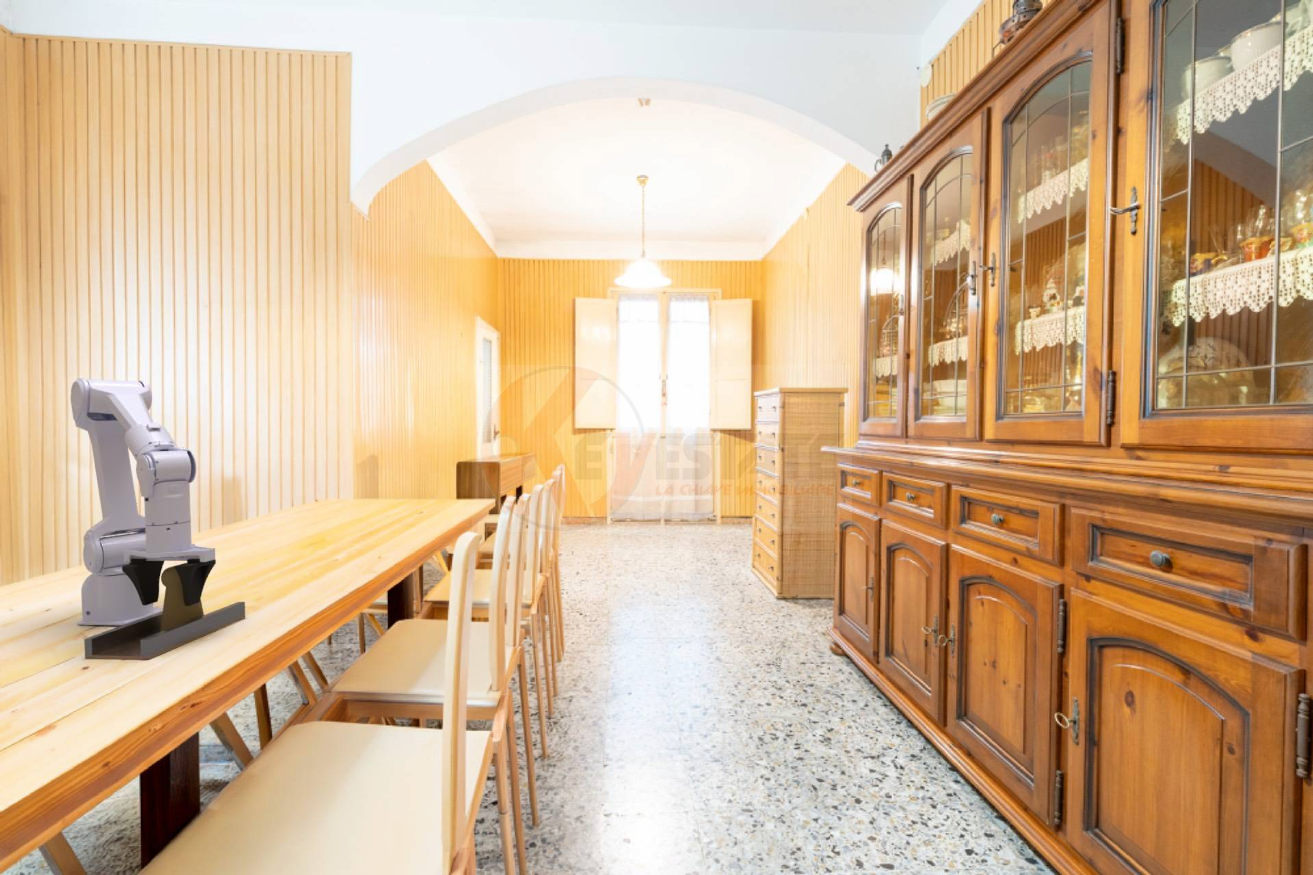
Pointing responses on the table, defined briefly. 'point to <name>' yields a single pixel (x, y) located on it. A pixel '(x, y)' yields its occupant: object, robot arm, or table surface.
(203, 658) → the table surface
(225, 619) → the rail
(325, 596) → the table surface
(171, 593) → the olive knobbed tapered piece
